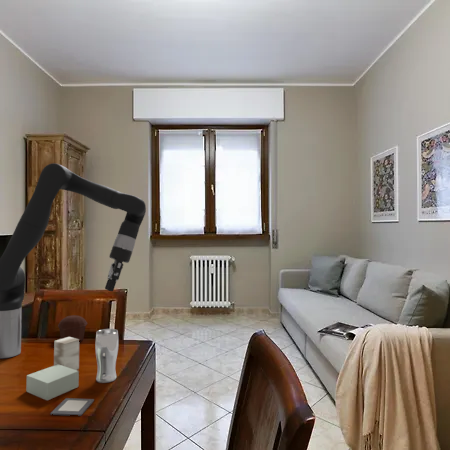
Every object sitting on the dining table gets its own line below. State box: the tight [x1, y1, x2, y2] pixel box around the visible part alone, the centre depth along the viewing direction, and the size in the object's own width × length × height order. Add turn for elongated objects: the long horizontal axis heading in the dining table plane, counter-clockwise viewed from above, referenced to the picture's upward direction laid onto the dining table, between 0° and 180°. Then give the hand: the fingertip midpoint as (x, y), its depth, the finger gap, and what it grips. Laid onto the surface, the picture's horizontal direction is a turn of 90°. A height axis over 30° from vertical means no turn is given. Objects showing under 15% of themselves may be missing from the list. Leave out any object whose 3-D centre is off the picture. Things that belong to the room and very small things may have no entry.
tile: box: [49, 397, 95, 417], centre depth 94 cm, size 8×8×1 cm
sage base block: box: [25, 364, 80, 401], centre depth 104 cm, size 10×10×5 cm
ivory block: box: [53, 337, 80, 371], centre depth 118 cm, size 6×6×10 cm
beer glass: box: [94, 328, 119, 384], centre depth 112 cm, size 7×7×15 cm
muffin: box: [57, 315, 88, 341], centre depth 150 cm, size 12×11×10 cm
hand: (108, 290), depth 129 cm, fingers open, 8 cm apart
